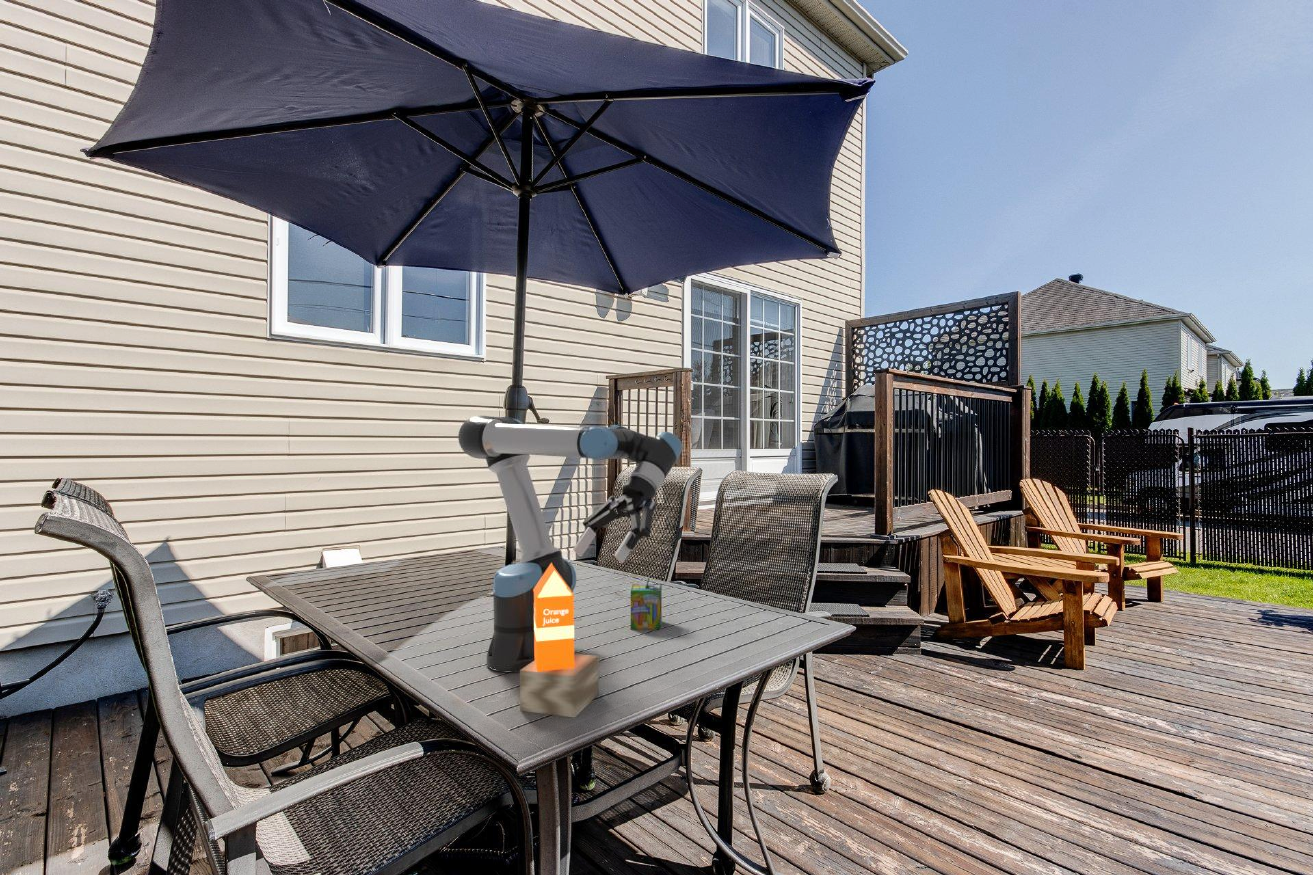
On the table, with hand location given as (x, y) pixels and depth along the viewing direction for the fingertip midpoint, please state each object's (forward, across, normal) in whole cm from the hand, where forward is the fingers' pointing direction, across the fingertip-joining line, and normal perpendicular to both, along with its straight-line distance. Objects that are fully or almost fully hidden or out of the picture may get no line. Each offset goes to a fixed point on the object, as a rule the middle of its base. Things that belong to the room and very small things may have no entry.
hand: (596, 556), depth 132 cm
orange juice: (+23, +1, -7) cm, 24 cm away
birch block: (+28, 0, -13) cm, 31 cm away
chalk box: (-9, +24, -50) cm, 56 cm away
